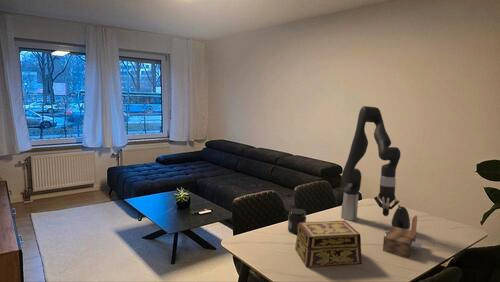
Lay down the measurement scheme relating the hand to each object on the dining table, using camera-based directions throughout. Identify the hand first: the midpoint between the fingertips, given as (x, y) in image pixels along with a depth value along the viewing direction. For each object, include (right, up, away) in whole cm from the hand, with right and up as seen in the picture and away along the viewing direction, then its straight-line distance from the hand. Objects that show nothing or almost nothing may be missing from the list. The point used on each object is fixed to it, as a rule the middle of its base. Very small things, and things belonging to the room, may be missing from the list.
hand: (385, 215), depth 171 cm
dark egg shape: (+17, -14, +20) cm, 30 cm away
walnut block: (+6, -17, -2) cm, 18 cm away
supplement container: (-45, -13, +17) cm, 50 cm away
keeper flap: (+11, -10, -7) cm, 16 cm away
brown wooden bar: (+7, -16, -3) cm, 18 cm away
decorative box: (-35, -18, -12) cm, 41 cm away
